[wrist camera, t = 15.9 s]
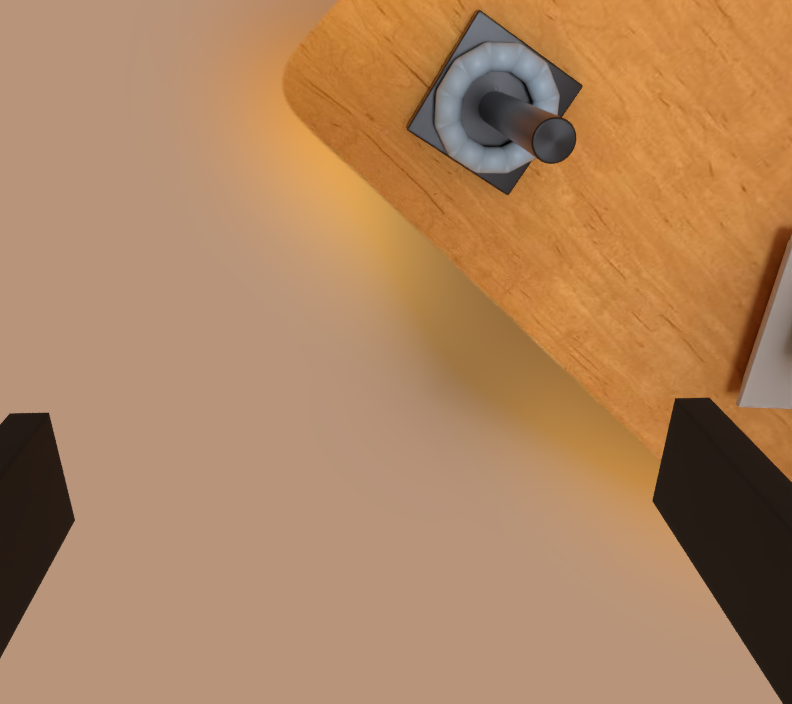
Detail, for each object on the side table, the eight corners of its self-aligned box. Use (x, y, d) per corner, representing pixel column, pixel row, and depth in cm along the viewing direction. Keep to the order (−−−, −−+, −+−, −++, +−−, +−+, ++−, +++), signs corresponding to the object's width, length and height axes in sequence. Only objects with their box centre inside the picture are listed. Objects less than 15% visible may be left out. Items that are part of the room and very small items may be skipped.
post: (405, 127, 44) (429, 171, 30) (476, 9, 41) (537, 0, 27) (505, 192, 46) (568, 260, 32) (578, 84, 43) (681, 109, 30)
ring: (410, 129, 43) (412, 132, 41) (479, 15, 40) (484, 15, 39) (507, 192, 45) (512, 198, 43) (578, 88, 42) (586, 90, 41)
